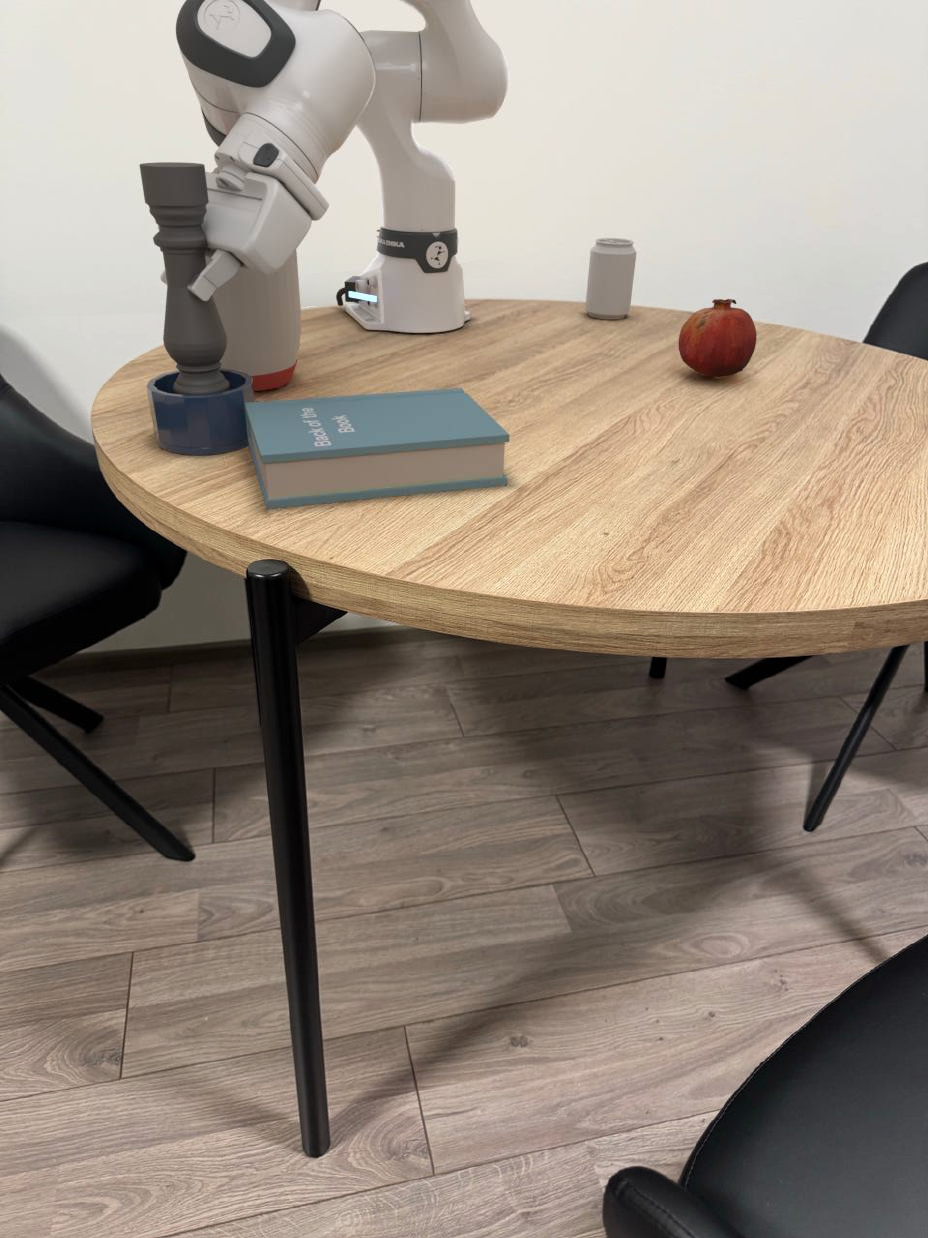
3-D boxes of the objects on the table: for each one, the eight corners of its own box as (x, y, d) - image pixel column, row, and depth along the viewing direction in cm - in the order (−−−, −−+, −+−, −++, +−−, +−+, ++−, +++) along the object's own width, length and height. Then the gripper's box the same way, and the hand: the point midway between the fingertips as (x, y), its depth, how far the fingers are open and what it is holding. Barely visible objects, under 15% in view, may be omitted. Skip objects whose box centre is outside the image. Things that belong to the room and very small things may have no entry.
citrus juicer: (293, 358, 121) (280, 198, 110) (319, 394, 107) (308, 215, 96) (175, 366, 116) (150, 200, 106) (187, 405, 102) (159, 217, 92)
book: (266, 509, 77) (261, 455, 75) (248, 447, 91) (243, 399, 88) (506, 485, 84) (509, 434, 81) (457, 430, 97) (458, 385, 94)
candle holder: (174, 424, 94) (134, 161, 81) (233, 418, 96) (203, 161, 83) (179, 443, 89) (138, 167, 76) (241, 437, 91) (211, 166, 78)
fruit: (718, 392, 111) (732, 310, 106) (657, 374, 118) (668, 296, 113) (767, 378, 117) (782, 300, 112) (706, 362, 124) (718, 288, 119)
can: (628, 321, 145) (637, 243, 139) (582, 318, 146) (589, 241, 140) (629, 312, 151) (638, 237, 145) (586, 309, 153) (593, 235, 146)
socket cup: (145, 430, 94) (136, 375, 91) (239, 416, 99) (233, 363, 96) (171, 461, 87) (162, 402, 84) (272, 445, 91) (266, 388, 88)
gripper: (190, 142, 89) (113, 253, 89) (293, 155, 76) (203, 285, 76) (235, 189, 94) (162, 294, 94) (339, 208, 81) (255, 331, 81)
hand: (181, 290), depth 85 cm, fingers open, 5 cm apart
